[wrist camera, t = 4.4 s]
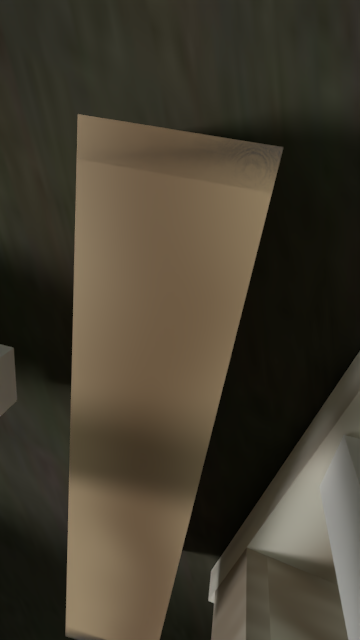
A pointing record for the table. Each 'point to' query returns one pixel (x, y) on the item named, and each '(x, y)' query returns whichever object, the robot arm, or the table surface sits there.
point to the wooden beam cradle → (289, 542)
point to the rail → (150, 352)
